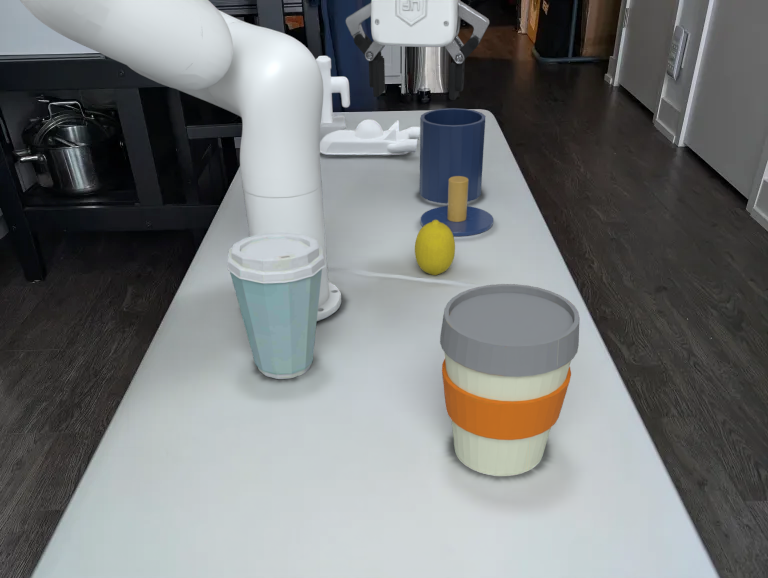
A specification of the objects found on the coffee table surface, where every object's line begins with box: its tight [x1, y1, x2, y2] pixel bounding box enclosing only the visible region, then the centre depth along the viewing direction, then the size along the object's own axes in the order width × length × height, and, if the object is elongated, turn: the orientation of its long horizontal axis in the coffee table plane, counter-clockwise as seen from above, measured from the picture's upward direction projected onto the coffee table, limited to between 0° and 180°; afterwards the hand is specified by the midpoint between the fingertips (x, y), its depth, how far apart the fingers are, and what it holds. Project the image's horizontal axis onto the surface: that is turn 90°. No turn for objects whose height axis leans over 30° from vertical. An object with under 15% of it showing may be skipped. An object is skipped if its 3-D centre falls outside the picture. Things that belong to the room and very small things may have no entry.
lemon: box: [414, 220, 456, 276], centre depth 109 cm, size 6×6×8 cm
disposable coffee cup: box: [226, 232, 325, 380], centre depth 89 cm, size 11×11×15 cm
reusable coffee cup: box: [439, 283, 580, 477], centre depth 76 cm, size 13×12×15 cm
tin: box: [419, 107, 486, 205], centre depth 132 cm, size 10×10×12 cm
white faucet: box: [315, 55, 351, 142], centre depth 156 cm, size 7×9×15 cm
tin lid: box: [420, 176, 494, 237], centre depth 124 cm, size 11×11×7 cm
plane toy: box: [320, 118, 420, 156], centre depth 154 cm, size 10×20×6 cm, turn 84°
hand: (416, 95), depth 100 cm, fingers open, 9 cm apart
